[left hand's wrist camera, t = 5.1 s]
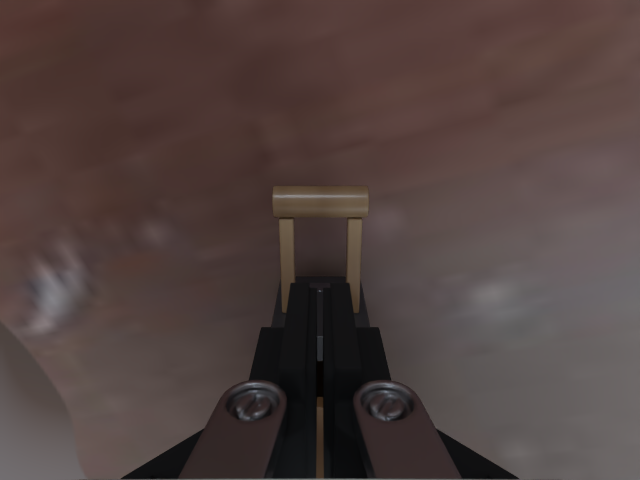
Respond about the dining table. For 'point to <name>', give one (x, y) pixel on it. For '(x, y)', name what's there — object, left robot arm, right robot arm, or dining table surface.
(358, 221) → the wooden handle frame
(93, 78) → the dining table surface
